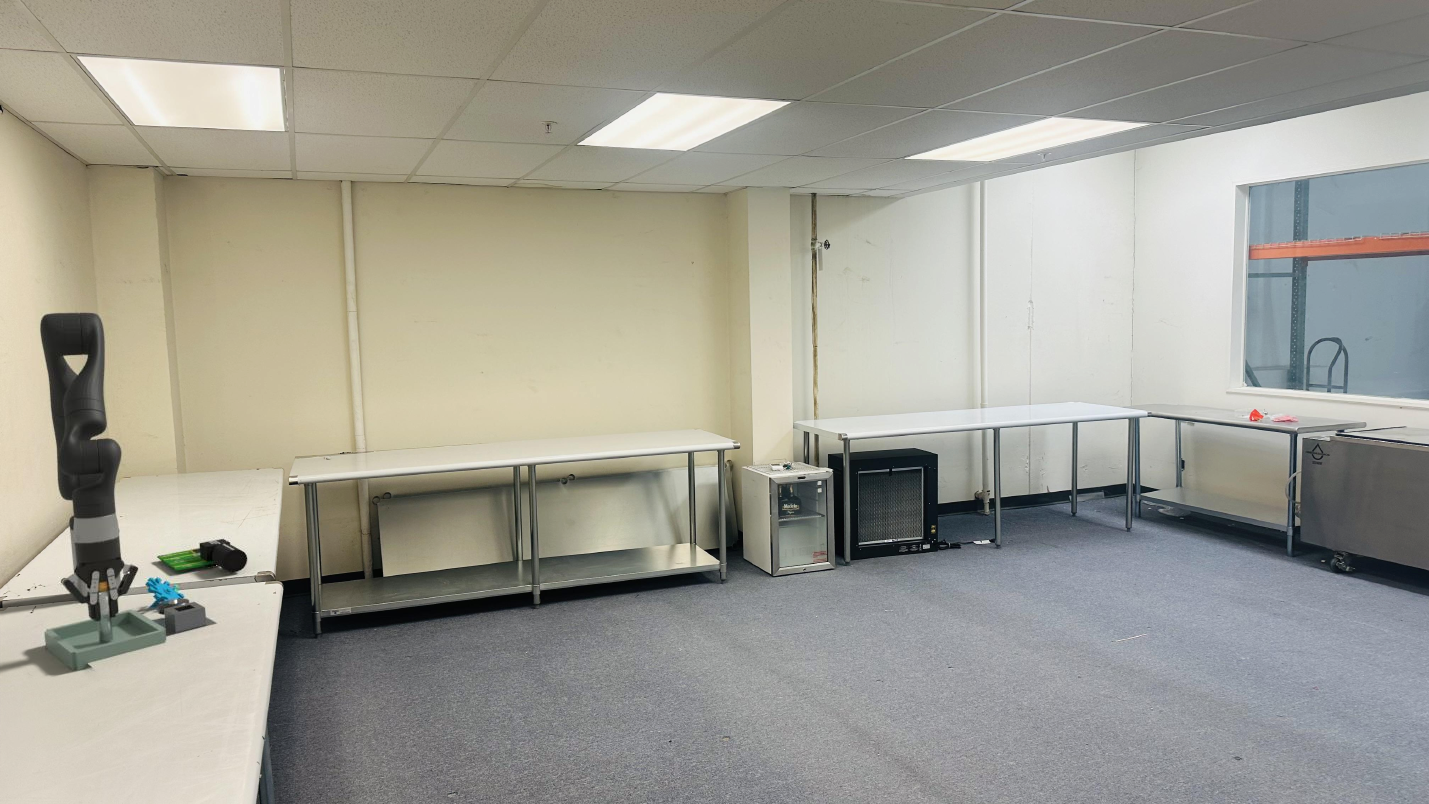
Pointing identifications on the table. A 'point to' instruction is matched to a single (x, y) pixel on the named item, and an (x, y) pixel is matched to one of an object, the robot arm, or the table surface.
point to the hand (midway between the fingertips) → (104, 618)
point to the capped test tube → (104, 613)
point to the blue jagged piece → (162, 591)
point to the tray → (83, 644)
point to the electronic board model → (208, 557)
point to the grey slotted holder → (182, 616)
